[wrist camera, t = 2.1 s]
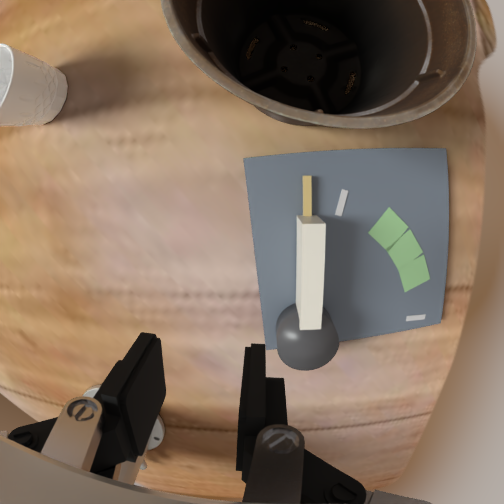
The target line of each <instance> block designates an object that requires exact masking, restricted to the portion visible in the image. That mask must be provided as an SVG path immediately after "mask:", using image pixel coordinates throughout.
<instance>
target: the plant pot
mask: <svg viewBox="0 0 504 504" xmlns="http://www.w3.org/2000/svg"><path fill="white" fill-rule="evenodd" d="M161 5H162V10H163V14H164V17H165V20H166V23H167V26H168V28H169V30H170V32H171V34H172V36H173V37H174V39H175V40H176V42H177V43H178V45H179V46H180V48H181V49H182V50H183V52H184V53H185V54H186V55H187V56H188V58H189V59H190V60H191V61H192V62H193V63H194V64H195V65H196V66H197V67H198V68H199V69H200V70H201V71H203V72H204V73H205V74H206V75H207V76H208V77H209V78H211V79H212V80H213V81H215V82H216V83H217V84H219V85H220V86H222V87H223V88H225V89H226V90H228V91H229V92H230V93H232V94H234V95H236V96H237V97H239V98H241V99H243V100H245V101H246V102H248V103H250V104H252V105H254V106H255V107H256V108H257V109H258V110H260V111H261V112H263V113H264V114H266V115H268V116H270V117H272V118H274V119H276V120H278V121H281V122H284V123H288V124H292V125H300V126H313V125H321V126H327V127H335V128H351V129H369V128H380V127H388V126H394V125H399V124H402V123H406V122H410V121H413V120H416V119H419V118H421V117H423V116H426V115H427V114H429V113H431V112H433V111H435V110H437V109H438V108H439V107H441V106H442V105H444V104H445V103H446V102H447V101H449V100H450V99H451V98H452V97H453V96H454V95H455V94H456V93H457V92H458V91H459V89H460V88H461V87H462V85H463V84H464V82H465V81H466V79H467V77H468V75H469V73H470V71H471V68H472V65H473V62H474V58H475V51H476V23H475V18H474V14H473V9H472V6H471V3H470V0H161ZM304 20H309V21H313V22H316V23H319V24H321V25H323V26H326V27H327V28H329V31H326V30H322V29H320V28H318V27H317V26H311V25H306V24H305V23H304V22H303V21H304ZM255 37H257V38H258V39H259V42H258V43H257V44H256V46H255V49H254V51H253V53H252V56H251V58H250V59H249V60H247V57H246V54H247V51H248V48H249V45H250V43H251V42H252V40H253V39H254V38H255ZM291 45H296V46H297V49H296V50H291V49H290V46H291ZM317 54H321V55H322V56H323V58H322V59H321V60H318V59H317V58H316V55H317ZM283 66H286V67H287V68H288V70H287V71H286V72H282V71H281V67H283ZM350 72H354V73H355V74H356V76H355V81H354V84H353V86H352V88H351V90H350V92H349V93H348V94H347V95H346V94H345V89H346V86H347V83H348V80H349V75H350ZM308 76H312V77H314V81H313V82H309V81H308V80H307V77H308Z"/></svg>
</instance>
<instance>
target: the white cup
mask: <svg viewBox="0 0 504 504" xmlns="http://www.w3.org/2000/svg"><path fill="white" fill-rule="evenodd" d="M67 89H68V84H67V81H66V77H65V75H64V74H63V73H62V72H61V71H60V70H59V69H57V68H55V67H53V66H50V65H49V64H48V63H46V62H44V61H42V60H40V59H38V58H36V57H34V56H32V55H29V54H27V53H25V52H22V51H20V50H18V49H15V48H13V47H11V46H9V45H6V44H0V127H10V126H25V125H43V124H46V123H48V122H50V121H52V120H53V119H54V118H55V117H56V115H57V114H58V113H59V112H60V111H61V109H62V107H63V104H64V102H65V100H66V96H67Z"/></svg>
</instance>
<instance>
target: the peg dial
mask: <svg viewBox="0 0 504 504" xmlns="http://www.w3.org/2000/svg"><path fill="white" fill-rule="evenodd" d="M325 236H326V223H325V222H324V221H322V220H321V219H320V218H319V217H318V216H317V215H312V187H311V176H303V215H297V256H296V303H294V304H292V305H290V306H288V307H287V308H285V309H284V310H283V311H282V312H281V314H280V315H279V317H278V319H277V322H276V338H277V351H278V354H279V357H280V358H281V360H282V361H283V362H284V363H285V364H286V365H288V366H289V367H291V368H294V369H297V370H313V369H317V368H320V367H322V366H324V365H325V364H327V363H328V362H329V361H330V360H331V359H332V358H333V357H334V356H335V354H336V352H337V350H338V347H339V337H338V333H337V331H336V328H335V326H334V324H333V321H332V319H331V316H330V314H329V312H328V311H327V310H326V309H325V308H324V307H323V289H324V268H325Z"/></svg>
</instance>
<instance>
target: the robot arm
mask: <svg viewBox="0 0 504 504" xmlns="http://www.w3.org/2000/svg"><path fill="white" fill-rule="evenodd" d="M165 396H166V386H165V377H164V368H163V358H162V348H161V340H160V338H157V337H156V335H155V334H151V333H144V332H141V333H140V335H139V336H138V338H137V339H136V341H135V342H134V344H133V345H132V347H131V348H130V350H129V351H128V353H127V354H126V356H125V357H124V359H123V360H119V361H118V362H117V363H116V364H115V366H114V367H113V369H112V370H111V372H110V373H109V374H108V376H107V377H106V379H105V380H104V382H103V383H102V385H95V386H92V387H90V388H89V389H87V391H86V392H85V393H84V394H83V396H81V397H76V398H73V399H71V400H70V401H68V402H67V403H66V404H65V406H64V407H63V409H62V411H61V413H60V415H59V417H56V418H53V419H49V420H45V421H41V422H38V423H34V424H30V425H26V426H22V427H18V428H16V429H14V430H13V431H12V432H11V433H10V434H9V433H8V431H0V504H431V503H430V502H427V501H424V500H418V499H413V498H408V497H404V496H399V495H394V494H391V493H386V492H382V491H379V490H375V491H374V492H371V491H367V490H365V488H364V487H363V485H362V484H361V483H359V482H358V481H357V480H355V479H353V478H352V477H350V476H348V475H346V474H345V473H343V472H341V471H340V470H338V469H336V468H334V467H333V466H331V465H329V464H328V463H326V462H325V461H323V460H321V459H320V458H318V457H317V456H315V455H313V454H312V453H310V452H309V451H307V450H306V449H304V444H305V442H304V437H303V435H302V434H301V432H299V431H298V430H297V429H296V428H293V427H291V426H288V422H287V409H286V396H285V384H284V378H270V377H266V358H265V344H251V347H245V356H244V366H243V376H242V386H241V397H240V407H239V419H238V438H237V458H236V471H242V481H244V482H245V483H246V488H245V492H244V496H243V500H242V502H231V501H221V500H212V499H204V498H196V497H190V496H184V495H178V494H172V493H167V492H162V491H157V490H153V489H148V488H144V487H139V486H135V485H134V483H135V480H136V477H137V474H138V472H139V469H142V470H144V469H146V468H147V464H146V462H145V460H144V458H145V455H146V452H147V450H150V449H153V448H155V447H157V446H158V445H159V444H160V443H161V442H162V440H163V437H164V433H165V428H164V424H163V421H162V419H161V417H160V416H159V412H160V409H161V407H162V404H163V402H164V399H165Z"/></svg>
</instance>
